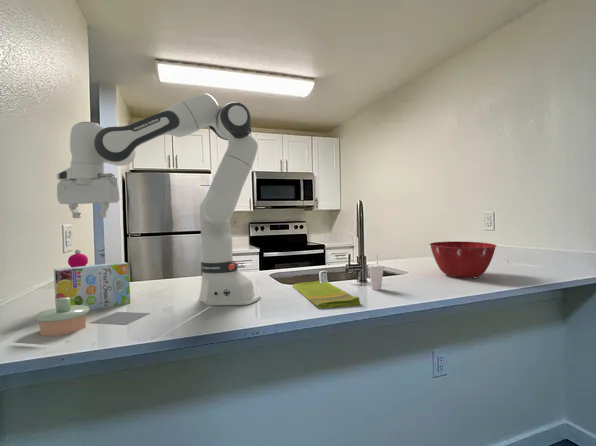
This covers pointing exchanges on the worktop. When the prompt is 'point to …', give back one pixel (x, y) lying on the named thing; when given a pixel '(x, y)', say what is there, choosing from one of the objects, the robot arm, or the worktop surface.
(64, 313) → the lid
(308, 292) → the dish towel
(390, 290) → the worktop surface
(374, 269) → the smoothie
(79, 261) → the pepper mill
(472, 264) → the mixing bowl
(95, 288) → the snack box
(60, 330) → the bowl
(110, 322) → the mat
